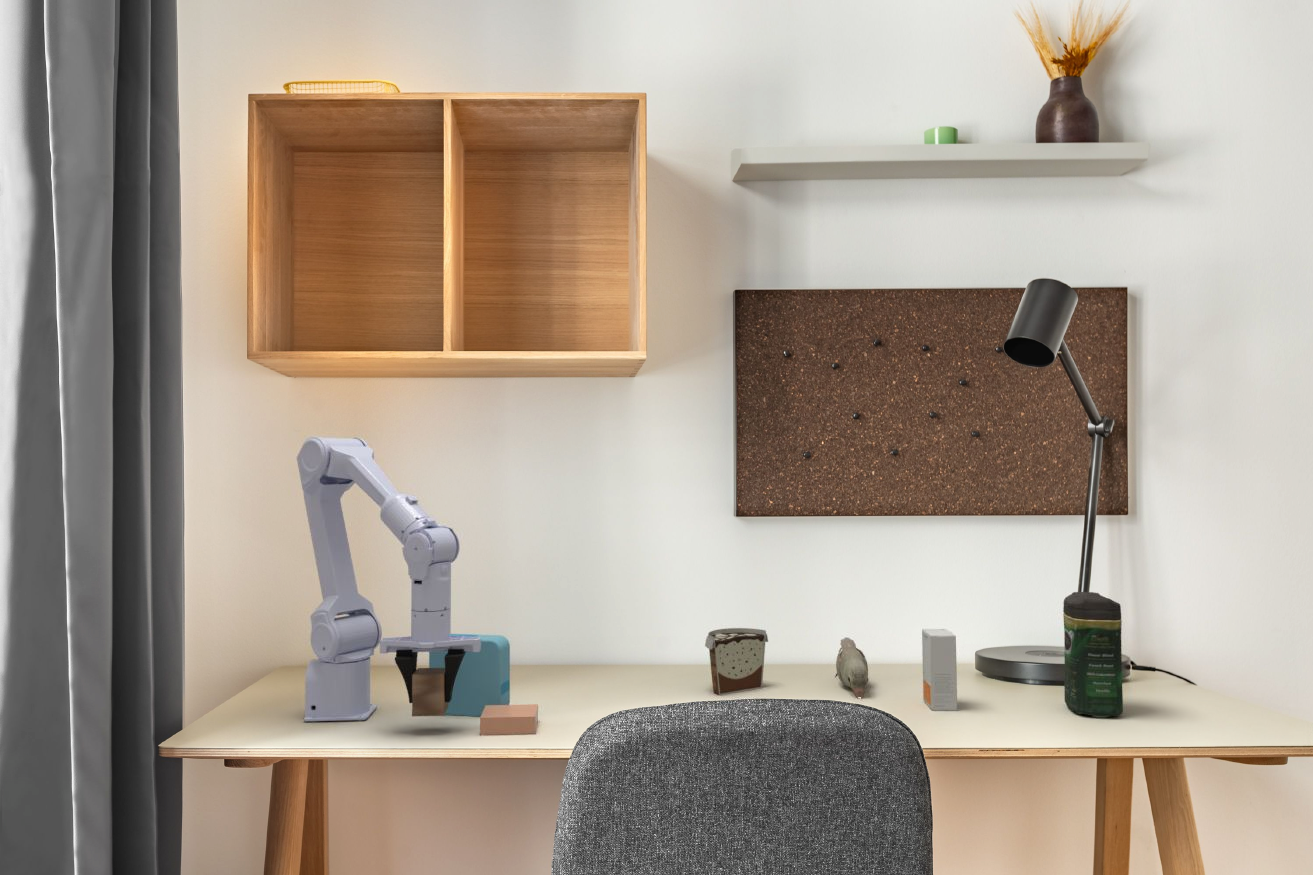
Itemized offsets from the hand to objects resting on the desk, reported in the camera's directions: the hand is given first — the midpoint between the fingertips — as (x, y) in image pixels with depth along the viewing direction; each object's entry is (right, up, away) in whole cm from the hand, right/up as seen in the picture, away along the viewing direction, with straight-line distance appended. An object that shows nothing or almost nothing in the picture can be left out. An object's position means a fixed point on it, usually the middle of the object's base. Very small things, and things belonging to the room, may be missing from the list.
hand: (430, 700), depth 138 cm
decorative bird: (+68, -5, +26) cm, 73 cm away
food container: (+46, -5, +26) cm, 53 cm away
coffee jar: (+103, -4, +9) cm, 103 cm away
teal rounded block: (+4, -5, +11) cm, 12 cm away
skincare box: (+79, -5, +13) cm, 81 cm away
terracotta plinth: (+11, -5, +2) cm, 12 cm away
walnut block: (0, -2, 0) cm, 2 cm away
